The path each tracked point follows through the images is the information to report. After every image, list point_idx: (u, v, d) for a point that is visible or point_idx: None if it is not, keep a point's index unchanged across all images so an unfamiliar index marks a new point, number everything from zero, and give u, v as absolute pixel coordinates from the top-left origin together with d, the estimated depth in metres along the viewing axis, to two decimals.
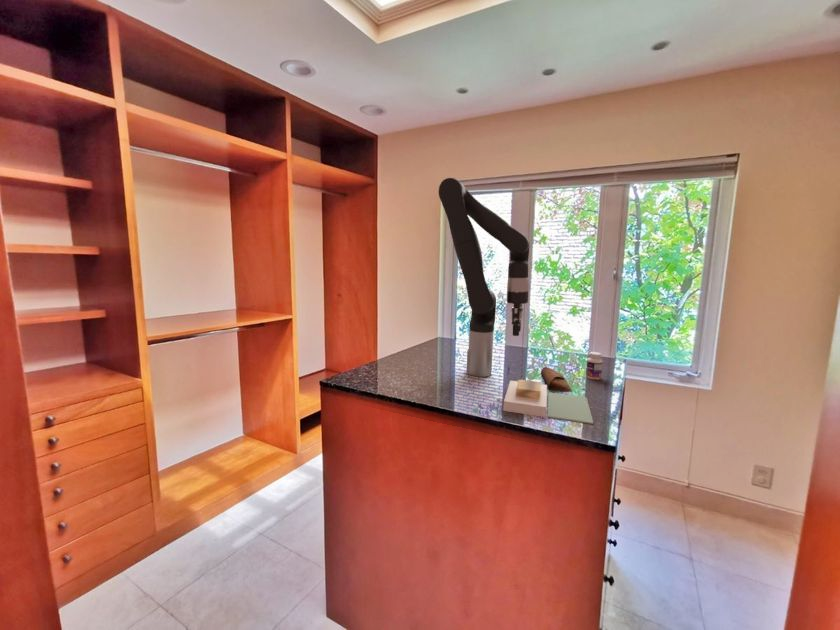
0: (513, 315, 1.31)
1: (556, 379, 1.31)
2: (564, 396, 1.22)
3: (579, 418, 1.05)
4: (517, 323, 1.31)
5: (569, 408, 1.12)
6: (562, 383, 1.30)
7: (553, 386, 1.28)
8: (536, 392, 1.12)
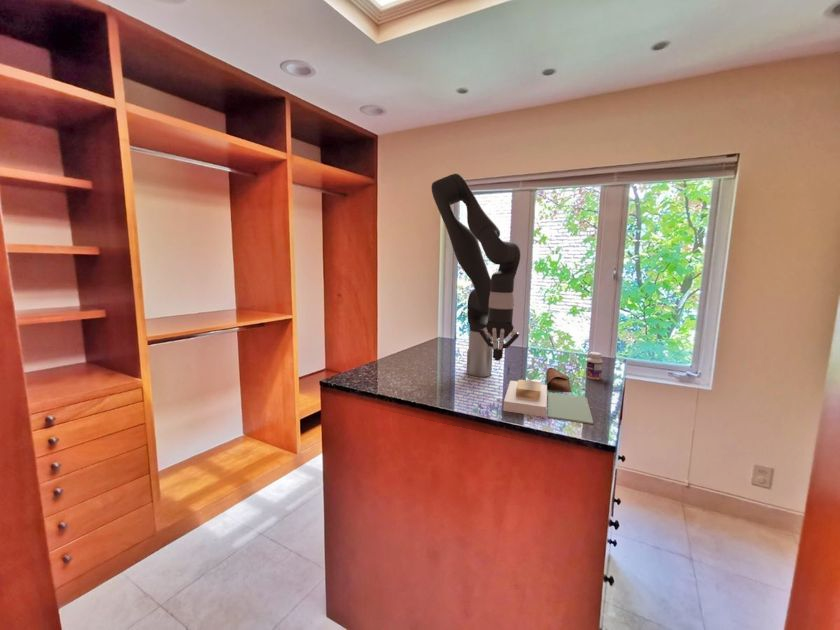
0: (513, 341, 1.15)
1: (556, 379, 1.31)
2: (564, 396, 1.22)
3: (579, 418, 1.05)
4: None
5: (569, 408, 1.12)
6: (562, 383, 1.30)
7: (552, 386, 1.28)
8: (536, 392, 1.12)
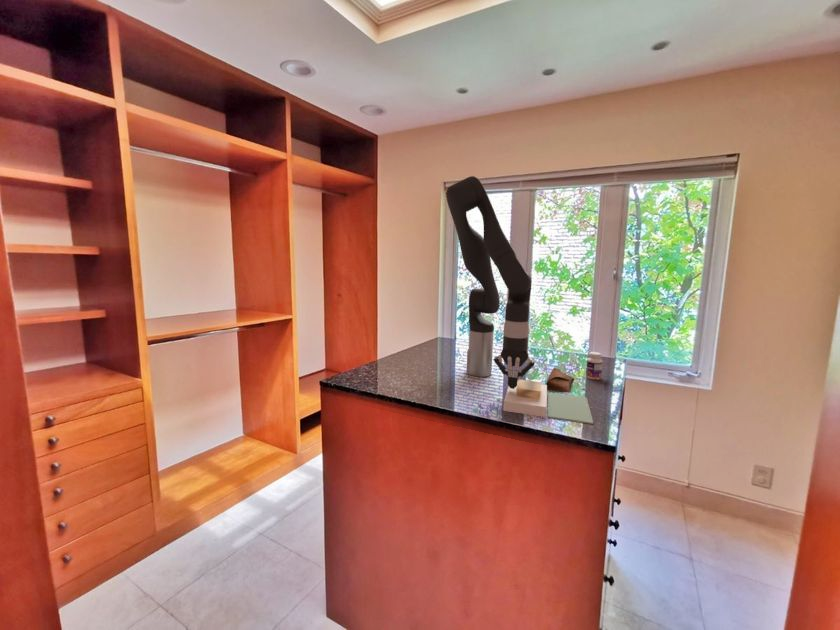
0: (529, 369, 1.15)
1: (557, 379, 1.31)
2: (564, 396, 1.22)
3: (579, 418, 1.05)
4: None
5: (569, 408, 1.12)
6: (561, 383, 1.29)
7: (550, 386, 1.29)
8: (536, 392, 1.12)
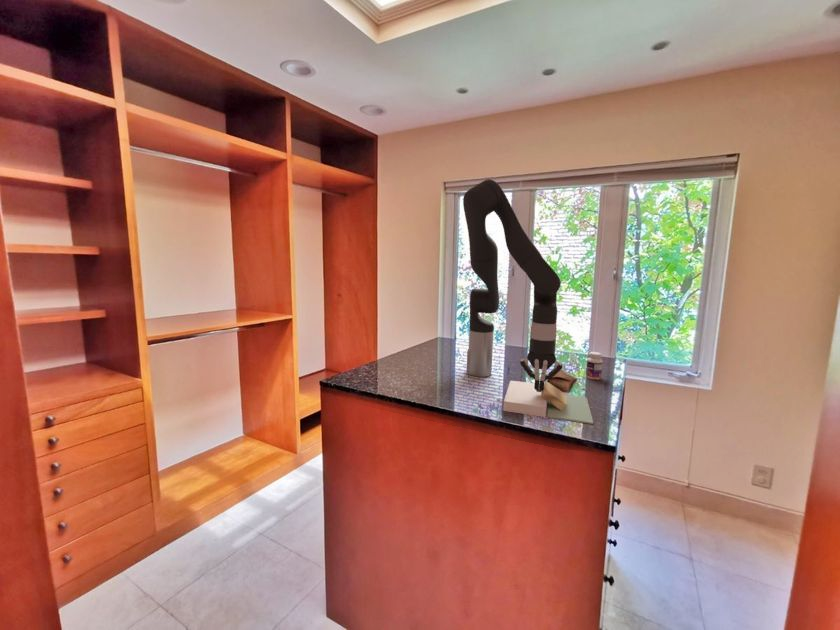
0: None
1: (557, 379, 1.31)
2: None
3: (579, 418, 1.05)
4: None
5: (569, 408, 1.12)
6: (561, 384, 1.29)
7: None
8: (562, 403, 1.10)
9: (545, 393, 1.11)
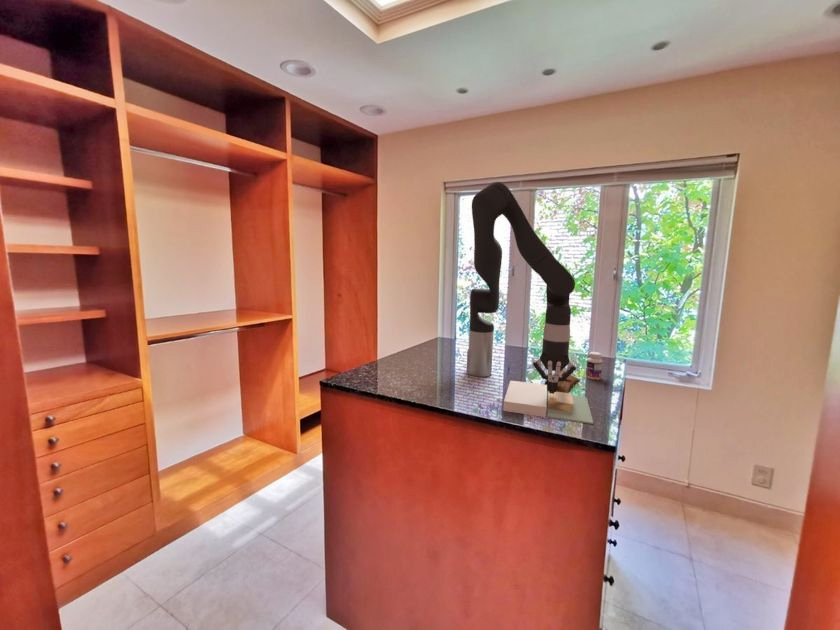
0: None
1: None
2: None
3: (579, 418, 1.05)
4: None
5: None
6: (561, 384, 1.29)
7: None
8: (569, 405, 1.09)
9: (549, 403, 1.11)
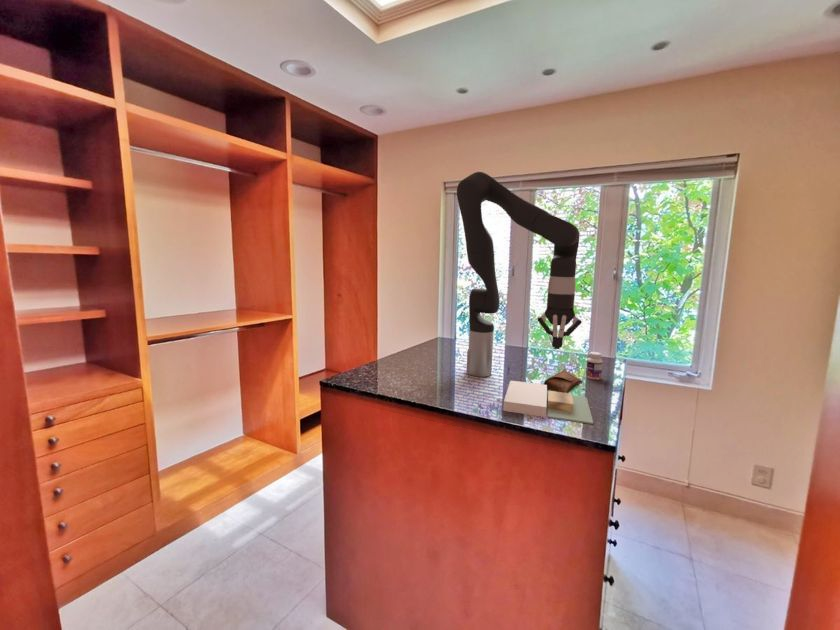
0: (575, 328, 1.10)
1: (557, 379, 1.31)
2: None
3: (579, 418, 1.05)
4: None
5: None
6: (560, 384, 1.29)
7: (548, 385, 1.29)
8: (569, 405, 1.09)
9: (549, 403, 1.11)
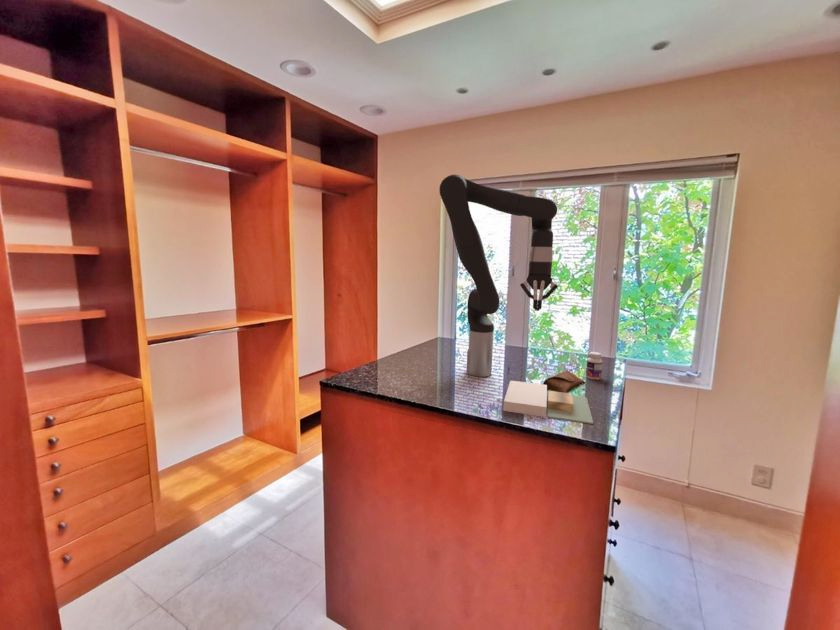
0: (552, 292, 1.27)
1: (557, 379, 1.31)
2: None
3: (579, 418, 1.05)
4: None
5: None
6: (560, 384, 1.29)
7: (547, 385, 1.30)
8: (569, 405, 1.09)
9: (549, 403, 1.11)
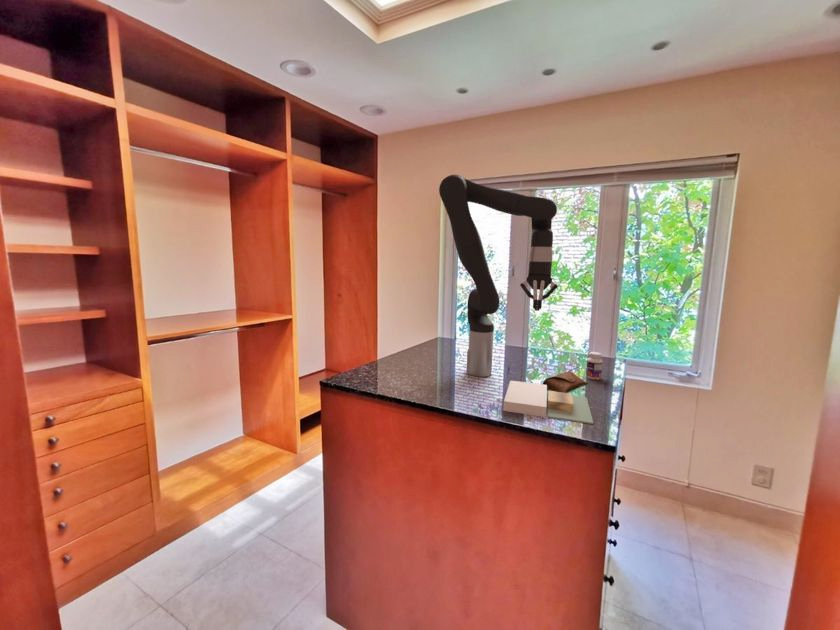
0: (552, 292, 1.27)
1: (557, 379, 1.31)
2: None
3: (579, 418, 1.05)
4: None
5: None
6: (560, 384, 1.29)
7: (547, 385, 1.30)
8: (569, 405, 1.09)
9: (549, 403, 1.11)
